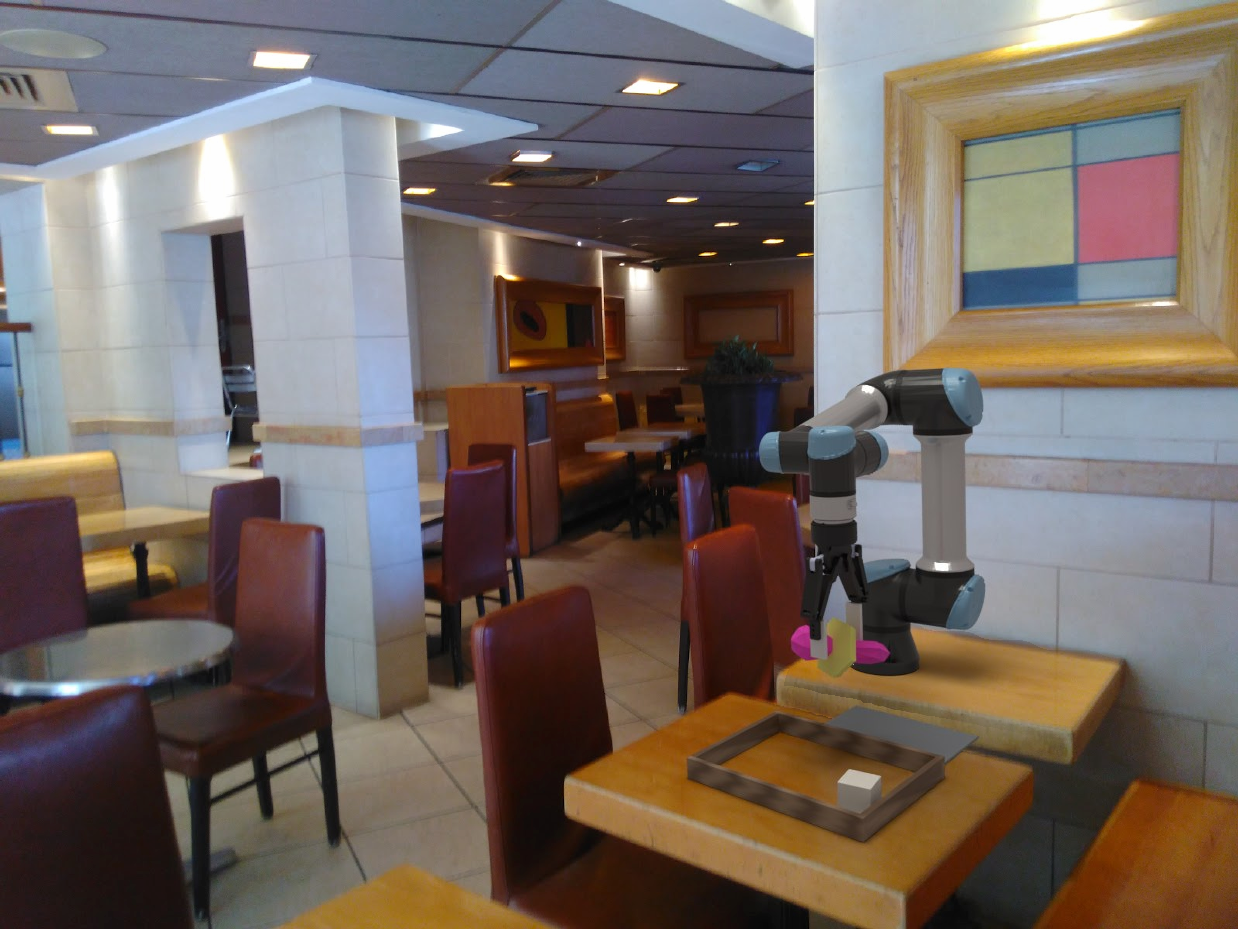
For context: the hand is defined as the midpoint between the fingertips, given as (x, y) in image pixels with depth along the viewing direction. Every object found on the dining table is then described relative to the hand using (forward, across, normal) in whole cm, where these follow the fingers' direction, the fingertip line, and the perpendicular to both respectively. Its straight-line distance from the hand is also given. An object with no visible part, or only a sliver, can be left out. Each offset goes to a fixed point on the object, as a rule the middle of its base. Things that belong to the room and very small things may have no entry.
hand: (837, 648), depth 152 cm
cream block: (+19, -15, -12) cm, 27 cm away
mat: (+19, +12, -3) cm, 23 cm away
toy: (+5, +2, +1) cm, 5 cm away
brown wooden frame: (+19, -10, -1) cm, 21 cm away
